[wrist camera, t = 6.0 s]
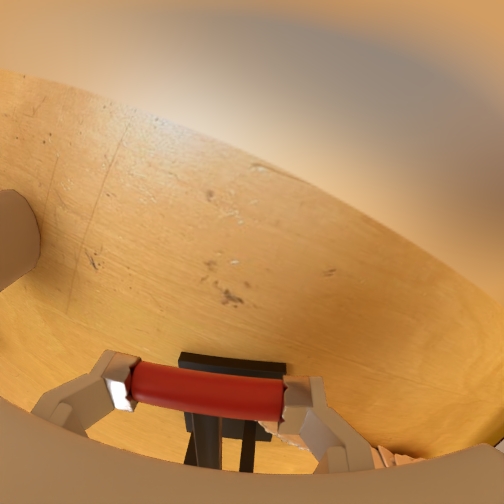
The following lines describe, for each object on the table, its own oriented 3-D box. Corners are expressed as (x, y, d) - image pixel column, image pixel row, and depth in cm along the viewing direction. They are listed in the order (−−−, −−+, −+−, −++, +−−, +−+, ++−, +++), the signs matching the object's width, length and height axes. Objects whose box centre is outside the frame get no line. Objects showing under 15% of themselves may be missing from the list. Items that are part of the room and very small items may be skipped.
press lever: (145, 347, 11) (123, 386, 9) (283, 364, 11) (284, 411, 9) (181, 496, 17) (175, 520, 14) (251, 506, 17) (249, 530, 14)
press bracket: (181, 351, 24) (129, 491, 12) (286, 363, 24) (289, 515, 11) (188, 423, 28) (160, 531, 15) (271, 433, 28) (266, 546, 15)
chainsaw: (272, 359, 24) (293, 486, 12) (429, 451, 32) (459, 507, 20) (174, 437, 27) (158, 533, 15) (355, 499, 35) (372, 554, 23)
